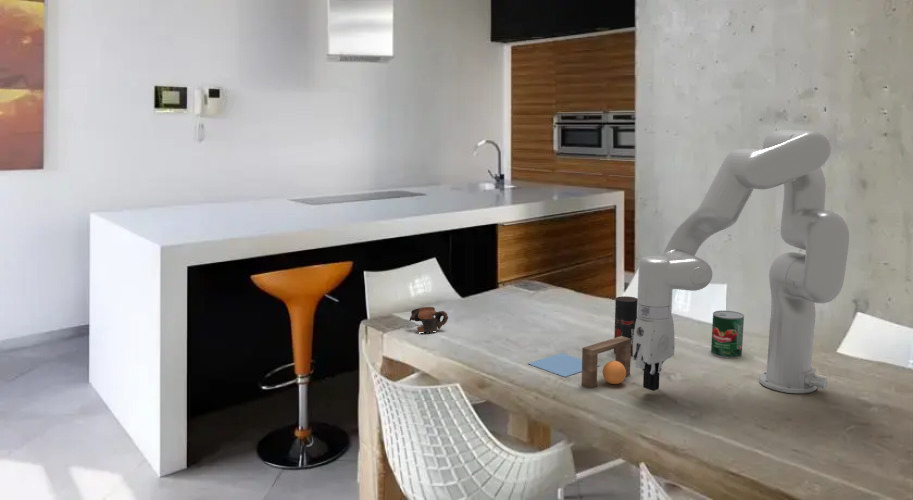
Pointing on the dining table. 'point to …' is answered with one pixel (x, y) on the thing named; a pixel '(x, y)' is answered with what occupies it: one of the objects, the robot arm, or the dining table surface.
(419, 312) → the pottery mug
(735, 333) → the canned tomato
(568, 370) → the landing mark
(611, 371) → the ball
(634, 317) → the deodorant
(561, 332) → the dining table surface
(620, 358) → the bridge
